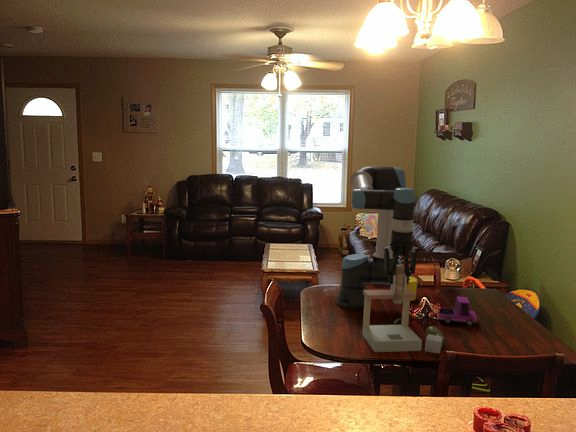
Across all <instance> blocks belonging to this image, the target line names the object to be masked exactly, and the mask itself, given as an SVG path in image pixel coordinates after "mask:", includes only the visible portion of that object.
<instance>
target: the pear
mask: <svg viewBox="0 0 576 432" xmlns="http://www.w3.org/2000/svg"><path fill="white" fill-rule="evenodd" d="M424 334H425V337H426V338H427V335H428V334H430V335H435V336H441V337H443V338H442V347H443V346H445V345H446V340H445V337H444V335H443V334H442V332H441V330H440V329H439V328H437V327H436V326H433V325H432V326H428V327H427V328H426V329H425V331H424Z"/></svg>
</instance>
